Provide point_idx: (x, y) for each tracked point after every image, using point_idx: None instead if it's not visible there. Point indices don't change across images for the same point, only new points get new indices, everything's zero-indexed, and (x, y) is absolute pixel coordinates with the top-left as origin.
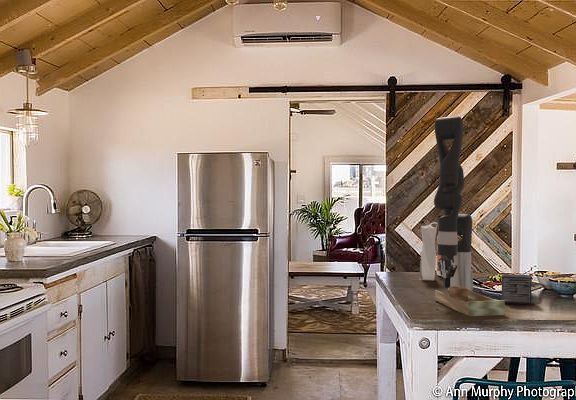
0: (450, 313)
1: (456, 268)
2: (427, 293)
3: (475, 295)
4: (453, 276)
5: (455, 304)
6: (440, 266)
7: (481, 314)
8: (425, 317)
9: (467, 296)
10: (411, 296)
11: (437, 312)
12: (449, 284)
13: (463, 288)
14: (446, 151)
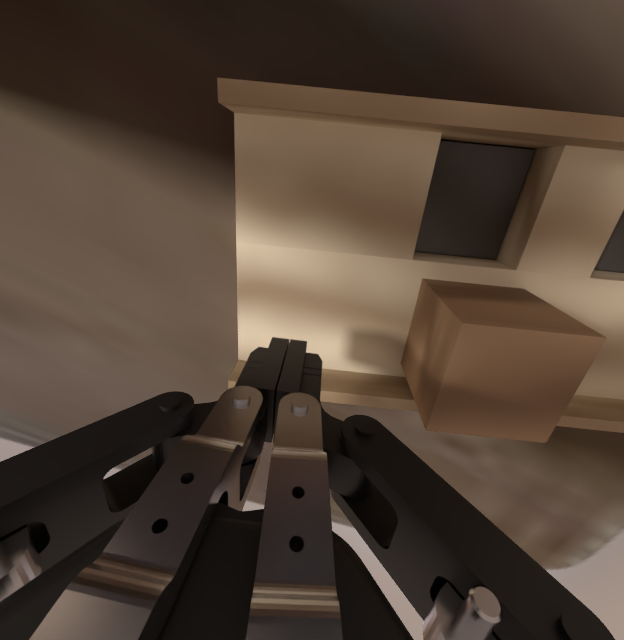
0: (563, 435)
1: (560, 592)
2: (12, 281)
3: (453, 129)
4: (383, 426)
5: None
6: (58, 557)
7: None
8: (554, 536)
9: (550, 308)
10: (121, 406)
11: (510, 469)
12: (321, 372)
13: (573, 373)
14: None
